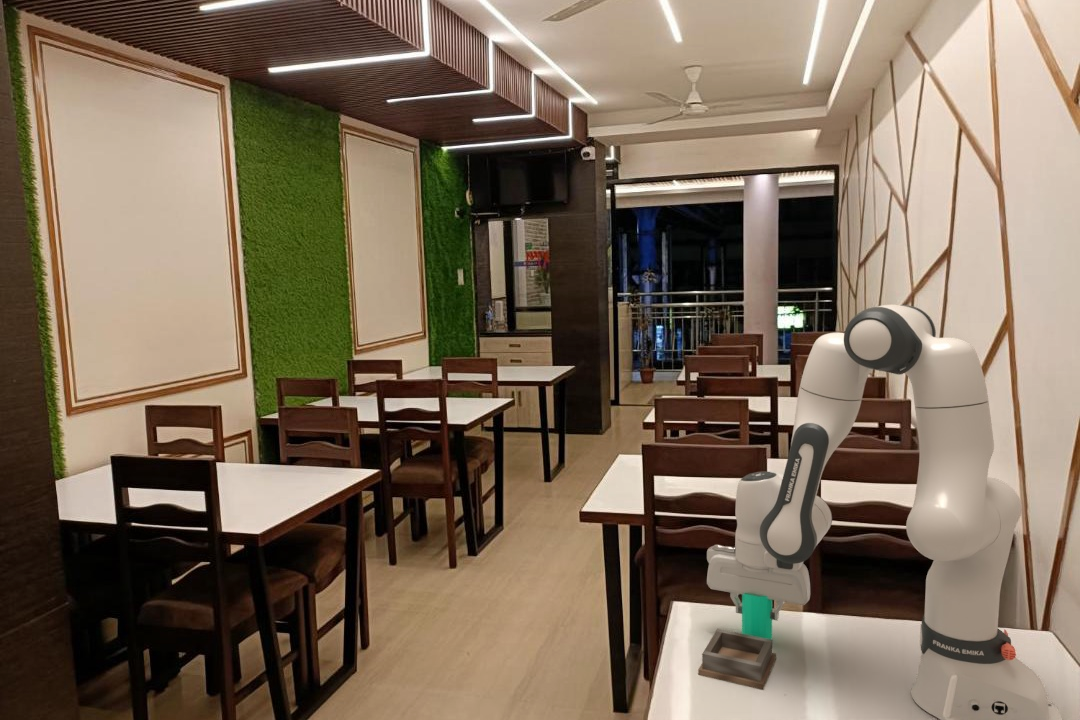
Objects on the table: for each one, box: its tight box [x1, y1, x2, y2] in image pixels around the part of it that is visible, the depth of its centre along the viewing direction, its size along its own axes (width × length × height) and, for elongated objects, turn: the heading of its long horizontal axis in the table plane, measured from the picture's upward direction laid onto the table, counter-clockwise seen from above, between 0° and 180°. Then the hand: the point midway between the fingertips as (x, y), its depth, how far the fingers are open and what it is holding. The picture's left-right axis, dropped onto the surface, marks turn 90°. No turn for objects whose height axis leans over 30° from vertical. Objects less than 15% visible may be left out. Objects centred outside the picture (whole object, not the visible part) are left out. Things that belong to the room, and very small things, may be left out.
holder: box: [697, 628, 777, 690], centre depth 147 cm, size 12×12×4 cm
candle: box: [741, 593, 773, 640], centre depth 157 cm, size 6×6×12 cm
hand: (757, 615), depth 157 cm, fingers closed on candle, 5 cm apart
